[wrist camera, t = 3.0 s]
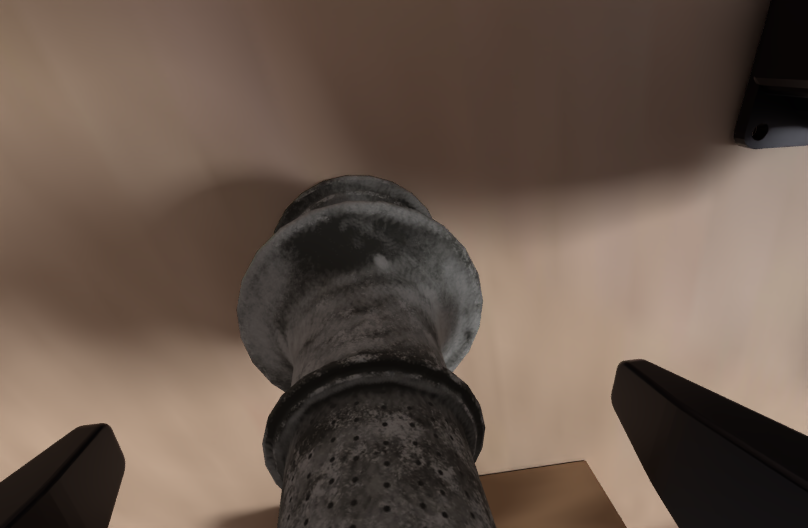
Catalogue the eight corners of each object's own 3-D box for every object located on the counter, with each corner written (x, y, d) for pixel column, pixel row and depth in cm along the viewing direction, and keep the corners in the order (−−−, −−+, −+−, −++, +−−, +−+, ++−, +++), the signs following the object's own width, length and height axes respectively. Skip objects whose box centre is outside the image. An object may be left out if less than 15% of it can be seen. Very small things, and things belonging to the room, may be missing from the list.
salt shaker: (374, 363, 16) (456, 1050, 5) (223, 277, 13) (-244, 1180, 3) (486, 240, 14) (968, 832, 3) (337, 120, 12) (335, 722, 1)
